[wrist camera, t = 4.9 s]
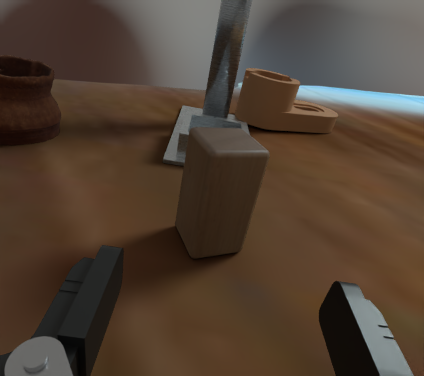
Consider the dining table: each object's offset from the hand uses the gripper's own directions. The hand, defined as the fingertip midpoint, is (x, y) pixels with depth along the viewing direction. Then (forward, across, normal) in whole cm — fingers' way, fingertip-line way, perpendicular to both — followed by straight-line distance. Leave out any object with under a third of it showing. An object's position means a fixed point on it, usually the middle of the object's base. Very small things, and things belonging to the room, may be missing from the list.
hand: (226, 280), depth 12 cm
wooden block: (+10, 0, +6) cm, 11 cm away
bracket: (+42, -12, +6) cm, 45 cm away
